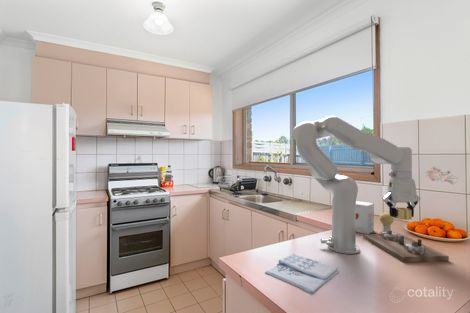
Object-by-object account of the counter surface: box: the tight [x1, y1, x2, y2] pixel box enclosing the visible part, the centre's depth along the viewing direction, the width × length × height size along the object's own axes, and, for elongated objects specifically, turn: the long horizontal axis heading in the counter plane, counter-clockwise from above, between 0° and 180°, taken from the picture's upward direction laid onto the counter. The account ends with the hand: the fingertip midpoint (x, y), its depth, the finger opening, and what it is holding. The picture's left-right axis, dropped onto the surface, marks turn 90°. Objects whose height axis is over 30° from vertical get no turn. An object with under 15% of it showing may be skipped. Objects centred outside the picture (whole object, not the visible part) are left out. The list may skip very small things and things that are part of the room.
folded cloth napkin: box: [264, 253, 340, 295], centre depth 84 cm, size 19×20×2 cm
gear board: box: [363, 229, 450, 263], centre depth 105 cm, size 18×26×6 cm
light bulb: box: [378, 212, 395, 232], centre depth 128 cm, size 6×6×10 cm
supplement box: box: [356, 200, 375, 235], centre depth 129 cm, size 9×9×15 cm
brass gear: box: [393, 206, 413, 221], centre depth 105 cm, size 7×7×4 cm
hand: (401, 216), depth 105 cm, fingers closed on brass gear, 7 cm apart
